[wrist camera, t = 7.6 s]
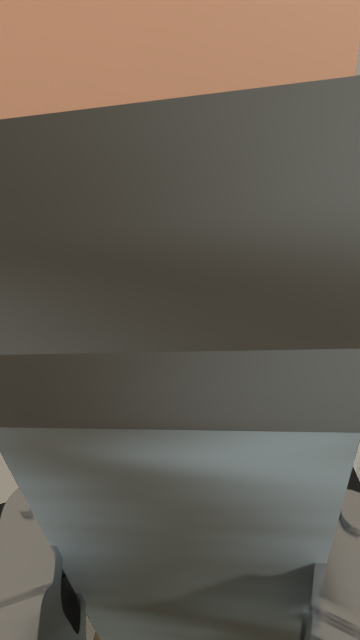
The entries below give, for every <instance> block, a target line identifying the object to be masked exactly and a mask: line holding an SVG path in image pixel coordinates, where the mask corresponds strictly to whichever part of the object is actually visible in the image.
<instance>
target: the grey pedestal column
mask: <svg viewBox="0 0 360 640" xmlns="http://www.w3.org/2000/svg"><path fill="white" fill-rule="evenodd" d="M359 441H360V75H359V76H350V77H342V78H334V79H326V80H318V81H310V82H301V83H293V84H285V85H277V86H269V87H261V88H252V89H244V90H236V91H228V92H220V93H212V94H204V95H195V96H187V97H179V98H171V99H163V100H155V101H146V102H138V103H130V104H122V105H114V106H106V107H97V108H89V109H81V110H73V111H65V112H57V113H48V114H40V115H32V116H24V117H16V118H8V119H0V452H1V454H2V456H3V458H4V460H5V462H6V464H7V465H8V467H9V469H10V471H11V473H12V474H13V477H14V479H15V480H16V482H17V484H18V486H19V488H20V490H21V492H22V494H23V496H24V497H25V499H26V501H27V503H28V505H29V507H30V509H31V511H32V512H33V514H34V516H35V518H36V520H37V522H38V524H39V526H40V527H41V529H42V531H43V533H44V535H45V537H46V539H47V541H48V543H49V544H50V545H55V546H57V548H58V550H59V552H60V553H61V555H62V557H63V562H62V569H63V571H64V573H65V574H66V576H67V578H68V580H69V582H70V584H71V586H72V588H73V589H74V591H75V593H81V594H82V596H83V598H84V600H85V602H86V614H87V616H88V618H89V620H90V621H91V623H92V625H93V627H94V629H95V631H96V633H95V637H94V640H299V637H300V628H301V620H302V616H303V612H305V613H308V611H309V601H310V591H311V580H312V573H313V569H314V565H315V563H326V564H327V560H328V556H329V553H330V549H331V545H332V542H333V538H334V534H335V530H336V527H337V523H338V519H339V516H340V512H341V508H342V504H343V501H344V497H345V493H346V490H347V486H348V482H349V478H350V475H351V471H352V467H353V464H354V460H355V456H356V452H357V449H358V445H359Z"/></svg>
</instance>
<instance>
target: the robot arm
mask: <svg viewBox="0 0 360 640" xmlns="http://www.w3.org/2000/svg"><path fill="white" fill-rule="evenodd" d="M62 562H63V557H62V555H61V553H60V552H59V550H58V548H57V546H55V545H50V544H49V543H48V541H47V539H46V537H45V535H44V533H43V531H42V529H41V527H40V526H39V524H38V522H37V520H36V518H35V516H34V514H33V512H32V511H31V509H30V507H29V505H28V503H27V501H26V499H25V497H24V496H23V494H22V492H21V490H20V488H18V489H17V490H16V491H15V492H14V493H13V494H12V495H11V496H10V498H9V499H8V500H7V502H6V503H2V504H0V640H86V602H85V600H84V598H83V596H82V594H81V593H75V591H74V589H73V588H72V586H71V584H70V582H69V580H68V578H67V576H66V574H65V573H64V571H63V569H62ZM299 640H360V482H359V479H358V477H357V475H356V473H355V470H354V468H353V467H352V471H351V475H350V478H349V482H348V486H347V490H346V493H345V497H344V501H343V504H342V508H341V512H340V516H339V519H338V523H337V527H336V530H335V534H334V538H333V542H332V545H331V549H330V553H329V556H328V560H327V564H326V563H315V565H314V569H313V573H312V580H311V591H310V601H309V611H308V613H305V612H303V616H302V620H301V628H300V637H299Z"/></svg>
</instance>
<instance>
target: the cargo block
mask: <svg viewBox="0 0 360 640" xmlns="http://www.w3.org/2000/svg"><path fill="white" fill-rule="evenodd" d="M359 44H360V0H0V119H8V118H16V117H24V116H32V115H40V114H48V113H57V112H65V111H73V110H81V109H89V108H97V107H106V106H114V105H122V104H130V103H138V102H146V101H155V100H163V99H171V98H179V97H187V96H195V95H204V94H212V93H220V92H228V91H236V90H244V89H252V88H261V87H269V86H277V85H285V84H293V83H301V82H310V81H318V80H326V79H334V78H342V77H350V76H355V72H356V65H357V57H358V51H359Z"/></svg>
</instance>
